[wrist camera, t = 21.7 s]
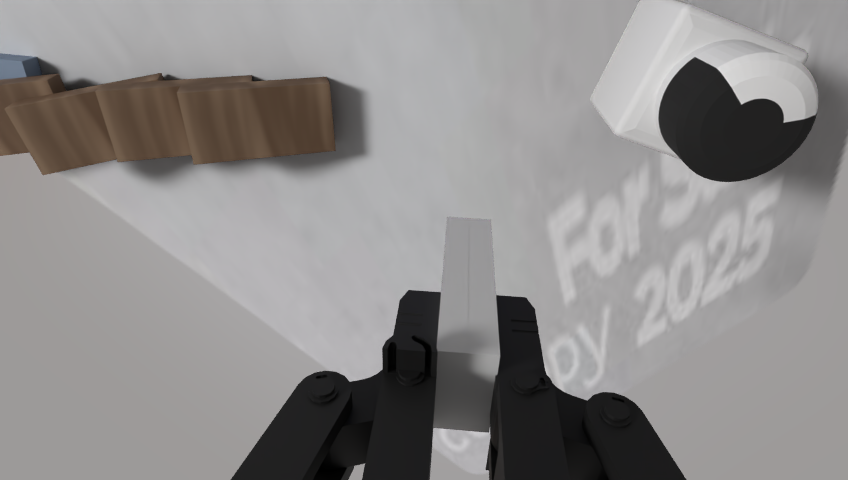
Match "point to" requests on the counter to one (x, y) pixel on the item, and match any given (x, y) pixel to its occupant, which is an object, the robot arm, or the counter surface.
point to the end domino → (18, 66)
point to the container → (707, 91)
